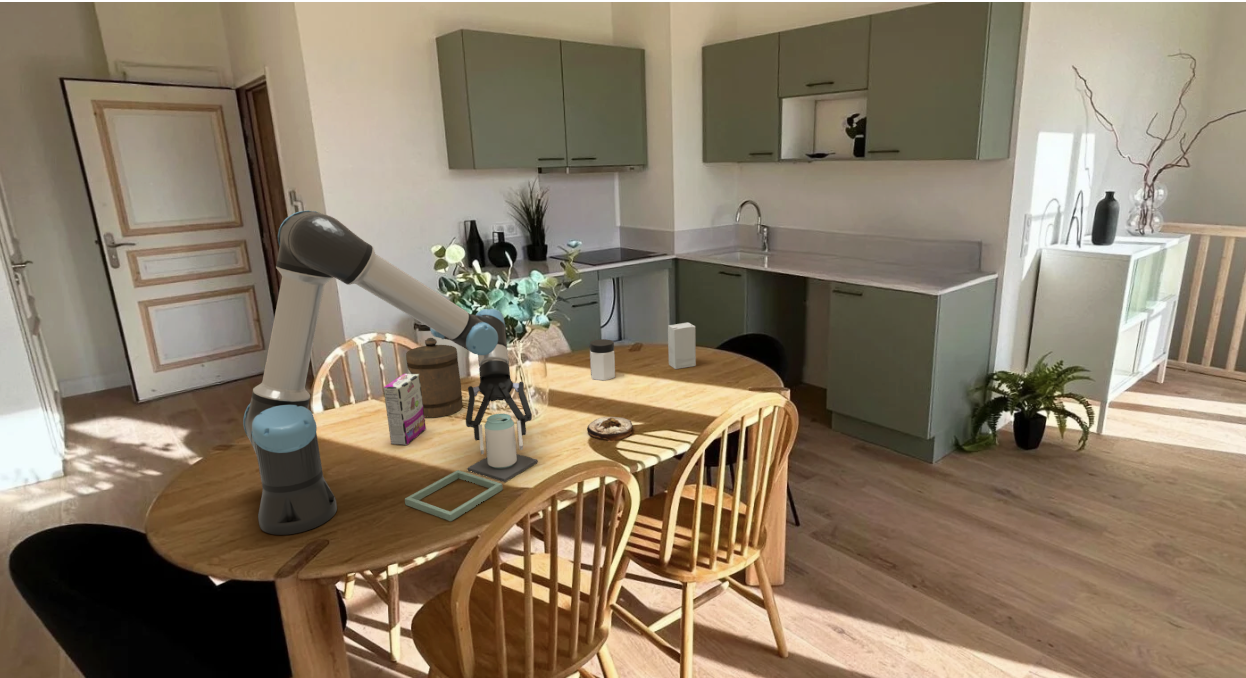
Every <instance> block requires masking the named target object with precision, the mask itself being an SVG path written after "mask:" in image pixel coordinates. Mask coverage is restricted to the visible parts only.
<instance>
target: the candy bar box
mask: <svg viewBox="0 0 1246 678" xmlns="http://www.w3.org/2000/svg"><path fill="white" fill-rule="evenodd" d="M382 389H383V395H384V404H385V409H386V416H387V424H388V431H389V438H390V444H391V445H397V446H408V445H409V444H410V443H411V442H412V441H414V440H415V439H416V438H418V436H419V435H421V434H422V433H423V432H424V431H425V430H427V427H426V419H425V418H426V417H424V410H423V402H422V394H421V386H420V378H419V374H408V373H403V374H402V375H401V374H400V376H399V377H396V378H395V379H394V380H392V381H391V382H389V383H388V384H386V385H384V386H383V387H382Z"/></svg>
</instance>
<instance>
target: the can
mask: <svg viewBox="0 0 1246 678" xmlns="http://www.w3.org/2000/svg"><path fill="white" fill-rule="evenodd" d="M483 427H484V436H485V437H484V438H485V449H486V457H487V462H488V465H490V466H492V467H493V468H498V469H502V468H507V467H510V466H512V465H513V464H514V463H515V462H516V461H517V455H516V454H517V444H516V430H515V422H514V420H513V419H512V416H511V415H510V414H508V413H494V414H491V415H489V416H488V417H487V418H486V422H485V424H484V426H483Z"/></svg>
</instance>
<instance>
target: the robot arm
mask: <svg viewBox="0 0 1246 678" xmlns="http://www.w3.org/2000/svg"><path fill="white" fill-rule="evenodd" d="M277 242H278V246H279V249H278V253H277V258H276V259H277V260H276V265H275V269H277V271H278V272H279V273H280V275H281V281H280V285H279V286H280V287H279V292H278V295H277V296H278V297H277V303H276V306H275V307H276V309H275V313H274V318H273V324H272V330H271V334H270V339H269V340H270V341H269V346H268V351H267V354H266V355H267V356H266V361H265V366H264V370H263V371H264V372H263V377H262V381H261V383H260V384H258V385H256V386H254V387H253V388H252V393H251V398H250V403H249V404H248V405H247V407H246V409H245V411H244V415H243V420H242V421H243V424H242V425H243V429H244V432H245V434H246V436H247V438H248V440H249V442H250V444H251V446H252V447H253V450H254V452H255V455H256V459H257V464H258V469H259V476H260V481H261V486H262V493H261V499H260V502H259V503H260V505H259V510H258V515H257V516H258V517H257V518H258V524H259V528H260V530H262V532H265V533H267V534H270V535H276V536H279V535H281V536H283V535H284V536H285V535H293V534H299V533H302V532H303V533H304V532H306V531H307V532H308V531H309V530H312V529H315V528H318V527H320V526H321V525H324V524H325V523H326V522H329V520H331V519H333V517H334V516H335V514H336V512H337V509H338V504H337V499H336V497H335V495H334V493H333V491H332V490H331V488H330V486H329V485H328V483H327V481H326V479H325V477H324V471H323V467H322V460H321V453H320V448H319V441H318V433H317V431H318V428H317V422H316V420H315V417H314V414H313V412H312V411H311V410H310V409H309V406H310V400H311V394H310V393H309V392H308V391H307V389H306V388H305V386H306V382H307V377H308V372H309V366H310V361H311V356H312V351H313V346H314V342H315V341H314V340H315V336H316V331H317V325H318V320H319V315H320V310H321V303H322V300H323V299H322V298H323V294H324V290H325V285H327V283H329V282H330V281H332V280H333V279H336V280H338V281H340V282H341V283H343V284H346V285H348V286H350V285H356V286H359V287H360V288H362V289H364V290H365V291H367V292H369V293H370V294H372V295H374V296H376V297H377V298H378V299H380V300H382V301H384V302H386V303H387V304H389V305H391V306H392V307H394V308H396V309H398V310H399V311H400V312H403V313H405V314H406V315H408V316H410V317H412V318H413V319H415V320H416V321H418V322H420V323H422V324H423V325H425V326H427V327H429V330H430V333H431V335H432V336H433V337H435V338H439V339H441V340H448V341H451V342H452V343H454V344H457V345H458V346H460V347H462V348H464V349H465V350H468V351H469V352H470V353H472V354H474V355H477V360H478V367H479V368H478V372H479V373H478V374H479V384H478V385H477V386H472V385H469V386H468V387H467V390H468V396H469V397H468V404H467V410H466V415H465V427H468V428H473V435H474V437H473V438H474V440H475V441H476V442H477V441H479V447H480V448H479V449H480V455H484V454H485V449H484V435H483V425H482V420H483V419H484V416H485V414H486V411H487V409H488V406H489V404H490V403H491V402H496V401H504V402H505V403H506V404H507V405H508V407H509V408H510V410H511V412H512V413H513V415H514V416H515V417H516V419H517V421H516V426H517V437H518V438H517V439H518V445H519V451H523V450H524V443H523V441H524V440H523V437H524V436H526V435H527V429H526V427H527V425H526V423H528V422H531V421H532V417H533V414H532V410H531V408H530V405H529V402H528V399H527V397H526V394H525V390H524V385H525V384H524V382H523V381H519V382H513V381H512V379H511V370H510V365H509V364H510V363H509V353H508V344H507V333H506V330H507V328H506V326H507V325H506V324H505V323H506V322H505V319H504V315H503V313H502V312H501V311H500V310H497V309H495V308H490V309H489V308H484V309H481V310H479V311H477V313H475V314H472V313H469V312H468V311H467V310H466V309H463V308H462V307H460V306H459V305H457V304H455V303H454V302H453V301H451V300H449V299H448V298H446V297H444V296H443V295H442V294H440V293H438V291H435V290H433V289H432V288H430V287H428V286H427V285H425V284H424V283H422V282H421V281H419V280H417V279H416V278H414V277H413V276H412V275H409V274H408V273H407V272H404V271H403V270H402V269H401V268H399V267H397V266H395V265H394V264H392V263H390V262H389V261H388V260H386V259H384V258H383V257H381V256H379V255H378V254H376V252H375V247H374V246H372V245H371V244H369V243H368V242H367V241H365V240H364V239H362V238H361V237H360V236H358V235H357V234H356V233H355V232H353V231H351V230H350V229H349V228H348V227H347V226H346V225H345V224H343V223H342V222H341V221H339V220H338V218H337V219H336V218H335V217H333V216H331V215H328V214H324V213H321V212H319V211H314V210H301V211H297V212H294V213H292V214H291V215H289V216H287V217H286V218H285V219H284V220H283V221H282V223H281V224H280V227H279V228H278V233H277ZM513 389H514V390H515V392H516V393H518V397H519V400H520V401H519V402H520V403H521V404H520V405H521V406H522V410H523V412H522V411H521V409H520V408H519V406H518V405H517V403H516V402H515V400H514V399H513V397H512V395H511V391H512V390H513ZM479 392H480V393H481V394H482V396H483V398H482V401H481V403H480V405H479V406H480V407H479V408H478V411H477V413H476V415H475V418H474V419H473V414H474V409H475V408H474V407H475V402H476V401H475V399H476V397H477V396H478V393H479ZM523 413H524V414H523Z"/></svg>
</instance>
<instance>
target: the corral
mask: <svg viewBox="0 0 1246 678" xmlns="http://www.w3.org/2000/svg"><path fill="white" fill-rule="evenodd" d="M458 479H460V480H463V481H465V480H466V481H465V482H468V481H469V483H471V482H472V483H471V484H474V483H475V485H477V486H481V487H484V488H487V489H486V490H484V491H483V492H481V493H479V494H477V495H476V496H474V497H473V498H471V499H469V500H468V501H465V502H464V503H462V504H461V505H459V506H458V507H456V508H454V509H452V510H450V511H449V510H446V509H444V508H441V507H438V506H435V505H432V504H430V503H427V502H424V501H421V500H422V499H424V498H426V497H427V496H429V495H431V494H433V493H434V492H436V491H439V490H441V488H444V487H445V486H447V485H449V484H452V483H453V482H454V481H457V480H458ZM503 489H504V487H503V482H502V483H501V482H497V481H494V480H491V479H488V478H484V477H482V476H478V475H477V474H476V475H475V474H472V473H469V472H465V471H462V470H459V469H458V470H455V471H454V472H452V473H449V474H448V475H446V476H444V477H442V478H440V479H438V480H437V481H435V482H433V483H431V484H429V485H427V486H426V487H424V488H422V489H419V490H418V491H416V492H415V493H413V494H411V495H409V496H407V497H405V498H404V503H405V506H408V507H410V508H413V509H416V510H419V511H421V512H424V513H426V514H430V515H432V516H435V517H437V518H440V519H442V520H445V521H449V522H453V521H454V520H456V519H457V518H459V517H461V516H462V515H464V514H465V512H466V513H467V512H469V511H470V510H473V509H474V508H475V507H477V506H479V505H480V504H482V503H483V501H484V502H485V501H487V500H488V499H490V498H491V497H493V496H495V495H496V494H498V493H500V492H502V491H503ZM481 502H482V503H481ZM478 504H479V505H478ZM476 505H477V506H476Z"/></svg>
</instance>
